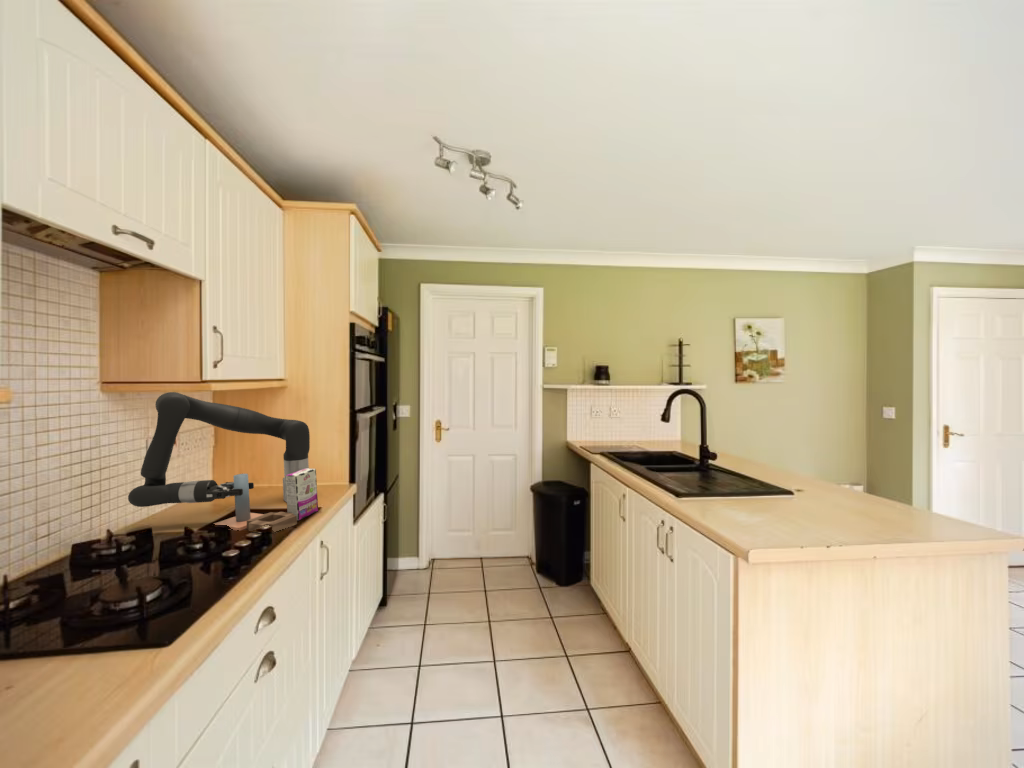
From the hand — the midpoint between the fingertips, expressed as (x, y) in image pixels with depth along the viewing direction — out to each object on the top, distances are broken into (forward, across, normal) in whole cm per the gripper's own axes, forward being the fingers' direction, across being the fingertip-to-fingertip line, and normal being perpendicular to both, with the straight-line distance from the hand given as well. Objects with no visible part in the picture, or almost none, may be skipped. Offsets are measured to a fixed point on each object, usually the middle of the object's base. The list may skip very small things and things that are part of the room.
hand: (248, 488), depth 158 cm
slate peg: (-2, 0, +11) cm, 11 cm away
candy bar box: (+17, +4, +12) cm, 21 cm away
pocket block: (+10, -7, +12) cm, 17 cm away
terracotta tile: (-2, 0, +12) cm, 12 cm away
